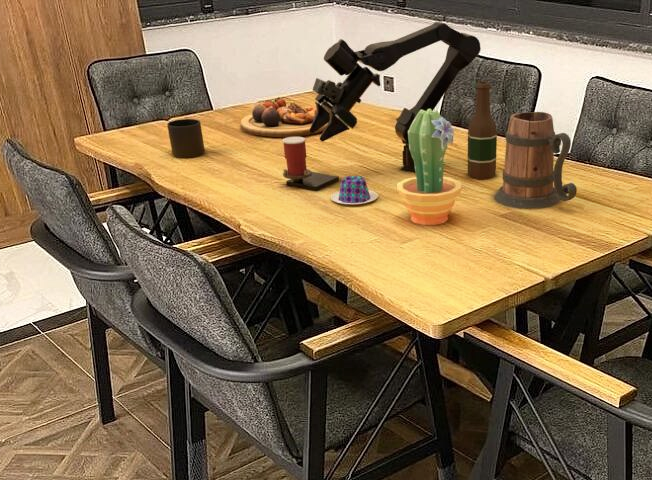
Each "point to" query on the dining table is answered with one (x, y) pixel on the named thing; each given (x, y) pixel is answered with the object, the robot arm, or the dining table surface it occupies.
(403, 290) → the dining table surface
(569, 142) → the tankard
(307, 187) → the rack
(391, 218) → the dining table surface
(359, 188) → the pudding
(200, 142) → the dark brown cup
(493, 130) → the beer bottle
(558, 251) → the dining table surface
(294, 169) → the red cup with lid
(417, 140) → the potted cactus
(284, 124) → the wooden plate
